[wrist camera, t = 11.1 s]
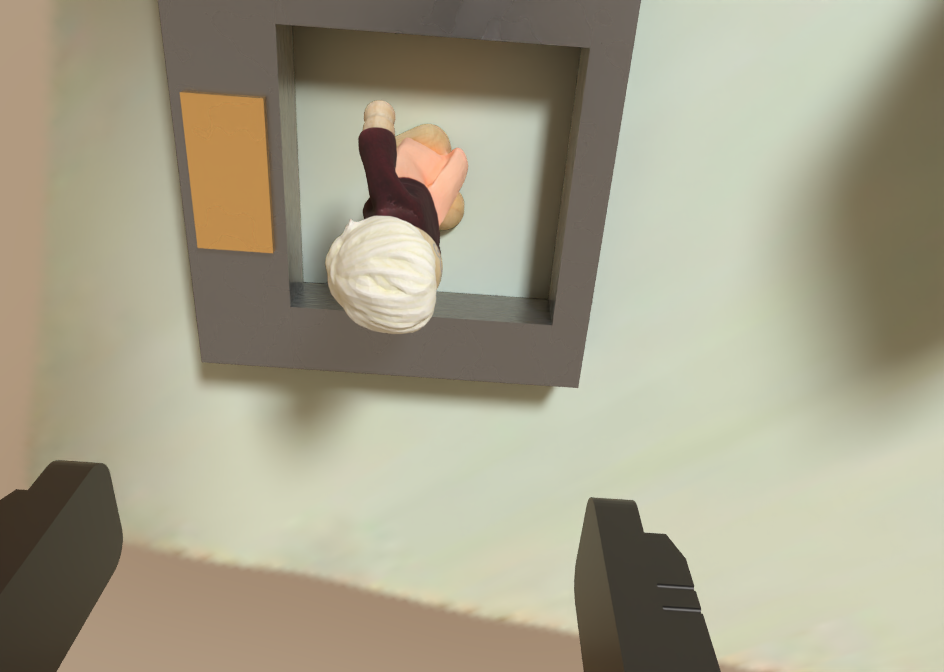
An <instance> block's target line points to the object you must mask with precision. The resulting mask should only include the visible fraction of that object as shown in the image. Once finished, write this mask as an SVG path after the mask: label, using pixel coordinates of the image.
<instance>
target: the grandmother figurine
mask: <svg viewBox="0 0 944 672" xmlns="http://www.w3.org/2000/svg"><path fill="white" fill-rule="evenodd" d="M364 121H365V123H364V125H363V131H362V132H361V133H360V136H359V138H358V139H359V152H360V156H361V159H362V162H363V165H364V169H365V172H366V178H367V183H368V189H369V195H370V198H369V199H368V200H367V202H366V203H365V205H364V208H363V216H364V220H362V221H359V222H355V221H352V219H350V220H349V223H348V224H347V225H346V227H345V230H344V232H343V234H342V235H340V236H339V237H337V238H336V240H335V241H334V242H333V244H332V245H331V247H330V250H329V252H328V254H327V256H326V261H325V266H326V270H327V274H328V286H329V288H330V292H331V294H332V296H333V297H334V298H335V299H336V301H337V302H338V303H339V304H340V305H341V306H342V307H343V308H344V310H345V312H346V313H347V315H348V316H349V317H350V318H351V319H352V320H353V321H354V322H355V323H357V324H358V325H360V326H362V327H365V328H367V329H370V330H372V331H377V332H382V333H388V334H404V333H412V332H415V331H418V330H419V329H421V328H422V327H423V326H425V325H426V324H427V322H428V321H429V320H430V318H431V317H432V315H433V312H434V307H435V303H436V290H437V288H438V286H439V284H440V281H441V277H442V269H443V268H442V258H441V251H440V247H439V243H440V230H448V229H451V228H453V227H455V226H456V225H458V224H459V222H460V221H461V219H462V217H463V214H464V200H463V197H462V195H461V194H460V193H459V190H460V188H461V187H462V185H463V183H464V180H465V178H466V174H467V170H468V162H467V158H466V155H465V153H464V152H463V150H462V149H460V148H455V149H453V150H452V151H451V145H450V142H449V138H448V136H447V135H446V133H445V132H444V131H443V130H442V129H441V128H439V127H438V126H436V125H432V124H423V125H420V126H417V127H415V128H413V129H411V130H408V131H406V132H404V133H402V134H400V135H397V136H395V128H394V122H395V112H394V109H393V108H392V106H391V105H390V104H389V103H387V102H385V101H382V100H376V101H373V102H371V103H370V104H368V106H367V107H366V109H365V112H364Z"/></svg>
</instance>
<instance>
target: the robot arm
mask: <svg viewBox="0 0 944 672" xmlns="http://www.w3.org/2000/svg"><path fill="white" fill-rule="evenodd" d="M122 543H123V533H122V527H121V523H120V518H119V513H118V508H117V504H116V499H115V494H114V490H113V485H112V480H111V476H110V472H109V469H108V467H107V466H106V465H105V464H103V463H92V462H77V461H62V460H56V461H53V462H52V463H50V464H49V465H48V466H47V467H46V469H45V470H44V471H43V472H42V473H41V475H40V476H39V477H38V478H37V480H36V481H35V482H34V483H33V484H32V486H31V487H30V488H29V489H28V490H17V489H16V490H15V491H13V492H12V493H10V494H9V495H7V496H6V497H4V498H3V499H1V500H0V672H56V671H57V670H58V668H59V666H60V664H61V663H62V661H63V659H64V658H65V656H66V654H67V652H68V650H69V649H70V647H71V645H72V644H73V642H74V640H75V639H76V637H77V635H78V633H79V632H80V630H81V628H82V626H83V625H84V623H85V621H86V619H87V617H88V616H89V614H90V612H91V611H92V609H93V607H94V606H95V604H96V602H97V601H98V599H99V597H100V595H101V594H102V592H103V590H104V588H105V587H106V585H107V583H108V582H109V580H110V578H111V576H112V575H113V573H114V571H115V569H116V567H117V565H118V561H119V559H120V555H121V550H122ZM574 593H575V605H576V613H577V621H578V629H579V637H580V644H581V653H582V660H583V668H584V672H721V671H720V668H719V665H718V661H717V658H716V655H715V652H714V648H713V645H712V642H711V639H710V636H709V632H708V629H707V626H706V623H705V619H704V616H703V614H701V606H700V603H699V600H698V597H697V594H696V591H694V584H693V581H692V577H691V574H690V571H689V568H688V564H687V561H686V558H685V557H684V556H683V555H682V553H681V552H680V551H679V550H678V549H677V547H676V546H675V545H674V544H673V542H672V541H671V540H670V539H669V537H668V536H667V535H666V534H656V533H644V531H643V527H642V523H641V519H640V515H639V511H638V508H637V505H636V502H635V501H633V500H622V499H607V498H592V497H591V498H589V500H588V503H587V507H586V512H585V517H584V523H583V528H582V533H581V538H580V544H579V549H578V554H577V560H576V566H575V579H574Z"/></svg>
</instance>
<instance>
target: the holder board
mask: <svg viewBox="0 0 944 672" xmlns="http://www.w3.org/2000/svg"><path fill="white" fill-rule="evenodd" d="M640 3H641V0H158V4H159V13H160V21H161V29H162V37H163V46H164V54H165V62H166V70H167V79H168V87H169V95H170V103H171V112H172V120H173V128H174V136H175V144H176V153H177V161H178V169H179V177H180V186H181V194H182V202H183V210H184V219H185V227H186V235H187V243H188V251H189V260H190V268H191V276H192V284H193V293H194V301H195V309H196V317H197V326H198V334H199V342H200V350H201V359H202V362H209V363H223V364H238V365H252V366H267V367H281V368H296V369H311V370H325V371H340V372H354V373H369V374H383V375H398V376H413V377H427V378H442V379H456V380H471V381H485V382H500V383H515V384H529V385H544V386H558V387H573V388H578V385H579V379H580V373H581V367H582V360H583V354H584V348H585V342H586V336H587V330H588V323H589V317H590V311H591V305H592V299H593V293H594V287H595V280H596V274H597V268H598V262H599V256H600V250H601V243H602V237H603V231H604V225H605V219H606V213H607V206H608V200H609V194H610V188H611V182H612V176H613V169H614V163H615V157H616V151H617V145H618V139H619V132H620V126H621V120H622V114H623V108H624V102H625V96H626V89H627V83H628V77H629V71H630V65H631V59H632V52H633V46H634V40H635V34H636V28H637V22H638V15H639V9H640ZM292 25H296V26H309V27H322V28H335V29H348V30H361V31H375V32H388V33H401V34H414V35H427V36H440V37H453V38H466V39H480V40H493V41H506V42H519V43H532V44H545V45H558V46H572V47H581V52H580V59H579V67H578V75H577V82H576V90H575V98H574V105H573V113H572V121H571V128H570V136H569V143H568V151H567V159H566V166H565V174H564V182H563V189H562V197H561V205H560V212H559V220H558V228H557V235H556V243H555V251H554V258H553V266H552V274H551V281H550V289H549V296H548V299H534V298H520V297H506V296H491V295H477V294H463V293H449V292H436V303H435V307H434V312H433V315H432V317H431V318H430V320H429V321H428V322H427V324H426V325H425V326H423V327H422V328H421V329H419V330H418V331H415V332H412V333H404V334H388V333H382V332H377V331H372V330H370V329H367V328H365V327H362V326H360V325H358V324H357V323H355V322H354V321H353V320H352V319H351V318H350V317H349V316H348V315H347V313H346V312H345V310H344V308H343V307H342V306H341V305H340V304H339V303H338V302H337V301H336V299H335V298H334V297H333V296H332V294H331V292H330V288H329V286H328V284H321V283H307V282H303V261H302V238H301V214H300V191H299V168H298V145H297V122H296V98H295V75H294V52H293V29H292Z"/></svg>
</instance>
